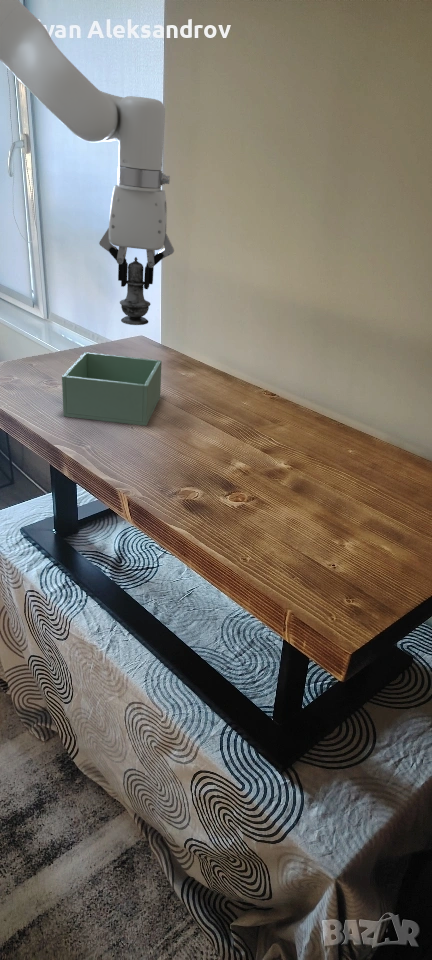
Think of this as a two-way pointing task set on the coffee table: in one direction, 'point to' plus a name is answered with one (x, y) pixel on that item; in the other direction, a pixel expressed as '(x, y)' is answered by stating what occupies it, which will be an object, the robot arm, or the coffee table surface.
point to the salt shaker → (135, 296)
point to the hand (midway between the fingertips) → (135, 285)
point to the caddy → (112, 388)
